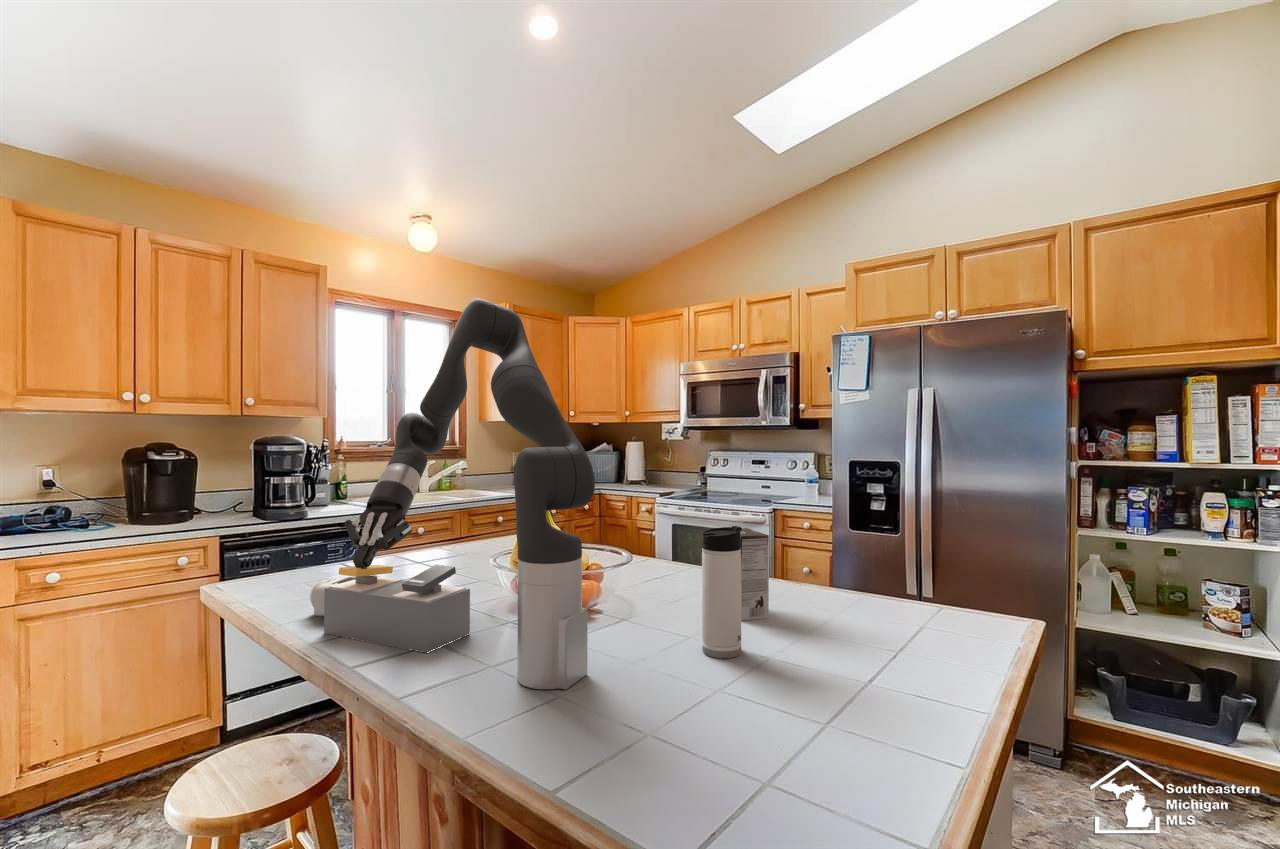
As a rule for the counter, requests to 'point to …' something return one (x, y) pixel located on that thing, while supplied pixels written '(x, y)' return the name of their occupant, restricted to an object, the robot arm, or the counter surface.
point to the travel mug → (721, 592)
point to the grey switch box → (396, 613)
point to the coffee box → (754, 574)
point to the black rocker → (428, 578)
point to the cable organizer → (318, 591)
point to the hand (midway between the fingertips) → (359, 567)
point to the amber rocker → (365, 570)
